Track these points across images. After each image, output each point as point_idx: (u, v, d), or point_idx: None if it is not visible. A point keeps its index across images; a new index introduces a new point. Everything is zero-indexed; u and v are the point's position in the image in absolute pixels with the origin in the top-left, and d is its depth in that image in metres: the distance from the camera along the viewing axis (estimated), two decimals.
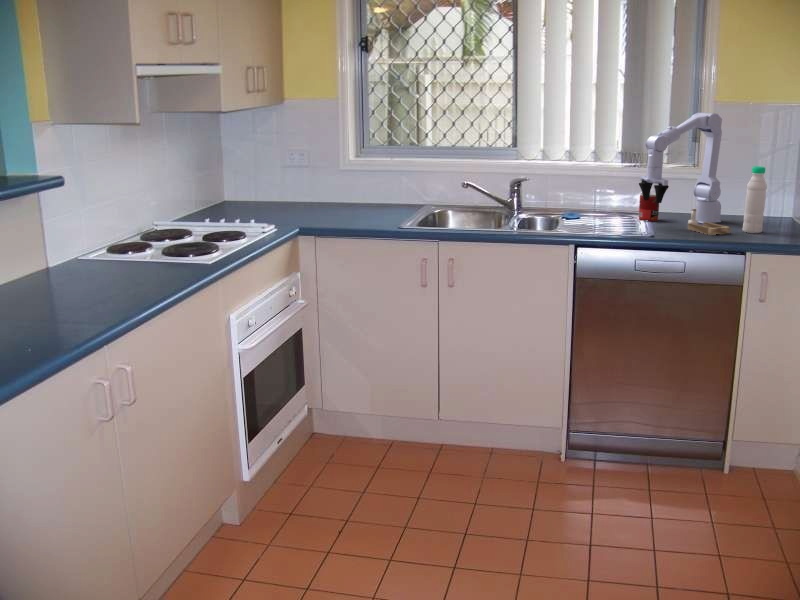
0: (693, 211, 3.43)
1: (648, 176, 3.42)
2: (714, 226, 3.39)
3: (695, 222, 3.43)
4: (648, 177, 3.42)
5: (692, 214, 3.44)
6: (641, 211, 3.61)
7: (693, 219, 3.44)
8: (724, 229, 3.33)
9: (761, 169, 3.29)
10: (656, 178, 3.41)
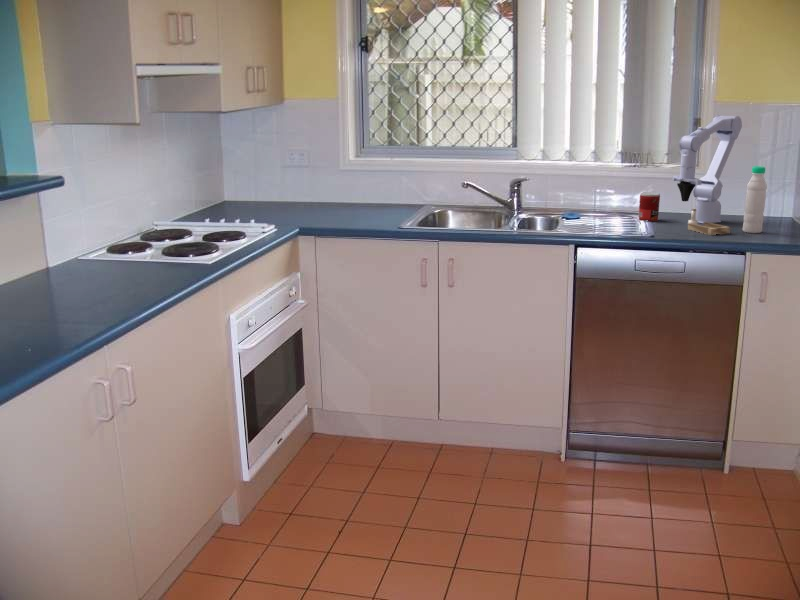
0: (693, 211, 3.43)
1: (681, 176, 3.44)
2: (714, 226, 3.39)
3: (695, 222, 3.43)
4: (681, 177, 3.44)
5: (692, 214, 3.44)
6: (641, 211, 3.61)
7: (693, 219, 3.44)
8: (724, 229, 3.33)
9: (761, 169, 3.29)
10: (689, 178, 3.43)
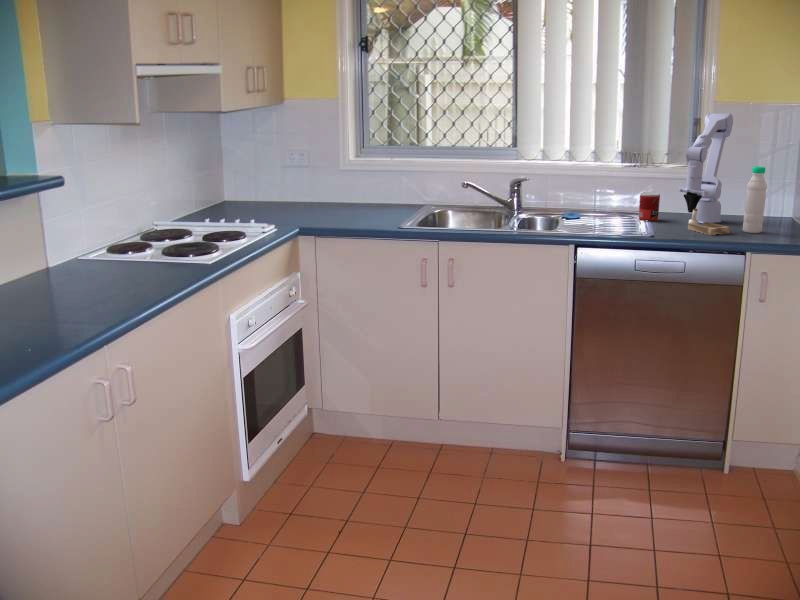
0: (694, 211, 3.43)
1: (688, 187, 3.42)
2: (714, 226, 3.39)
3: (695, 222, 3.43)
4: (687, 188, 3.42)
5: (693, 214, 3.43)
6: (641, 211, 3.61)
7: (694, 219, 3.44)
8: (724, 229, 3.33)
9: (761, 169, 3.29)
10: (696, 189, 3.40)
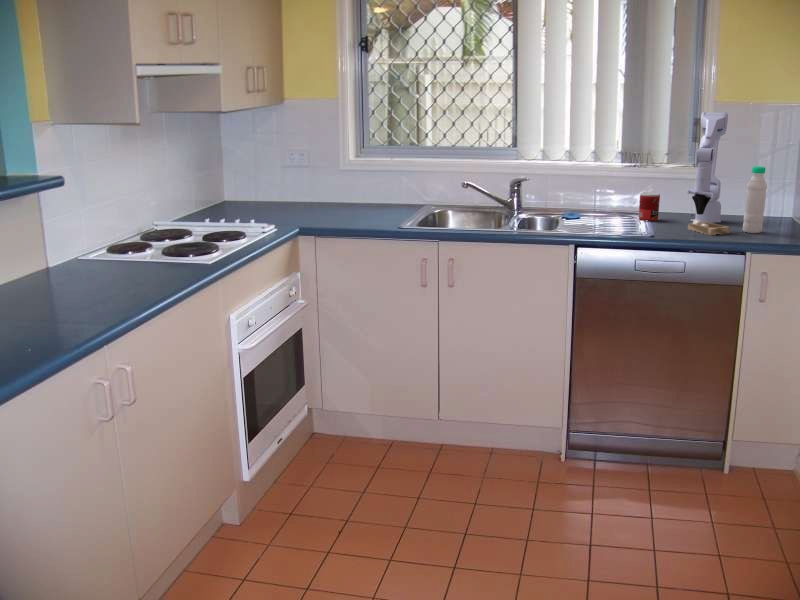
0: None
1: (696, 188, 3.37)
2: (714, 226, 3.39)
3: None
4: (696, 189, 3.37)
5: None
6: (641, 211, 3.61)
7: None
8: (724, 229, 3.33)
9: (761, 169, 3.29)
10: (705, 190, 3.36)
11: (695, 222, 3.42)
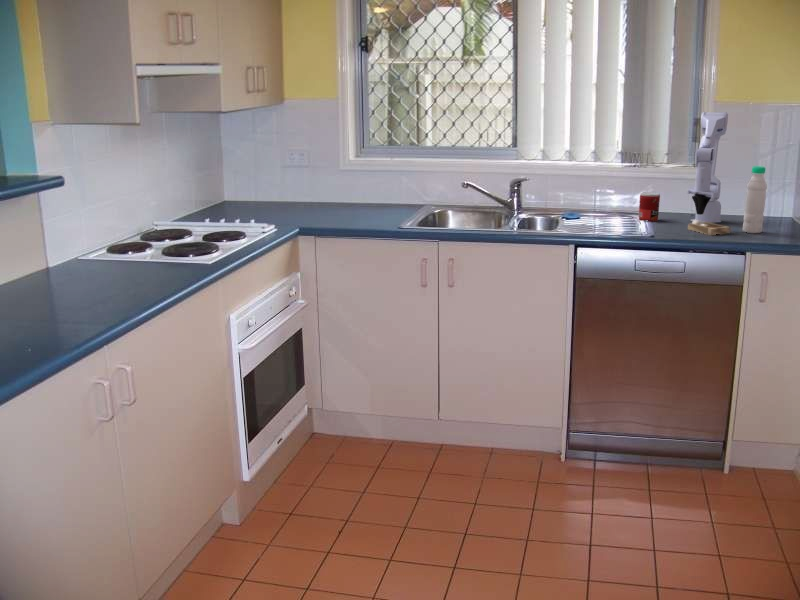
0: None
1: (696, 188, 3.37)
2: (714, 226, 3.39)
3: None
4: (696, 189, 3.37)
5: None
6: (641, 211, 3.61)
7: None
8: (724, 229, 3.33)
9: (761, 169, 3.29)
10: (705, 190, 3.36)
11: (694, 223, 3.41)
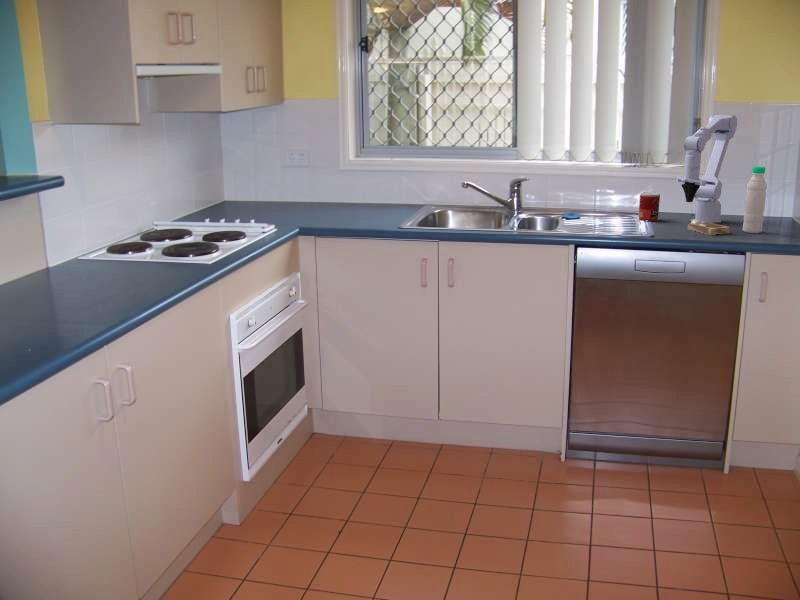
0: None
1: (686, 176, 3.42)
2: (714, 226, 3.39)
3: None
4: (686, 177, 3.42)
5: None
6: (641, 211, 3.61)
7: None
8: (724, 229, 3.33)
9: (761, 169, 3.29)
10: (694, 178, 3.41)
11: None
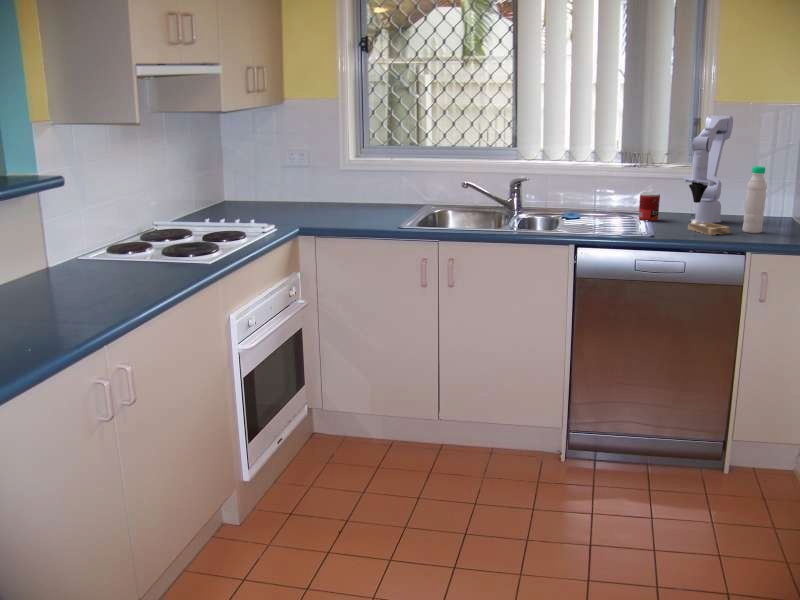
0: None
1: (693, 177, 3.41)
2: (714, 226, 3.39)
3: None
4: (693, 178, 3.41)
5: None
6: (641, 211, 3.61)
7: None
8: (724, 229, 3.33)
9: (761, 169, 3.29)
10: (701, 179, 3.40)
11: None
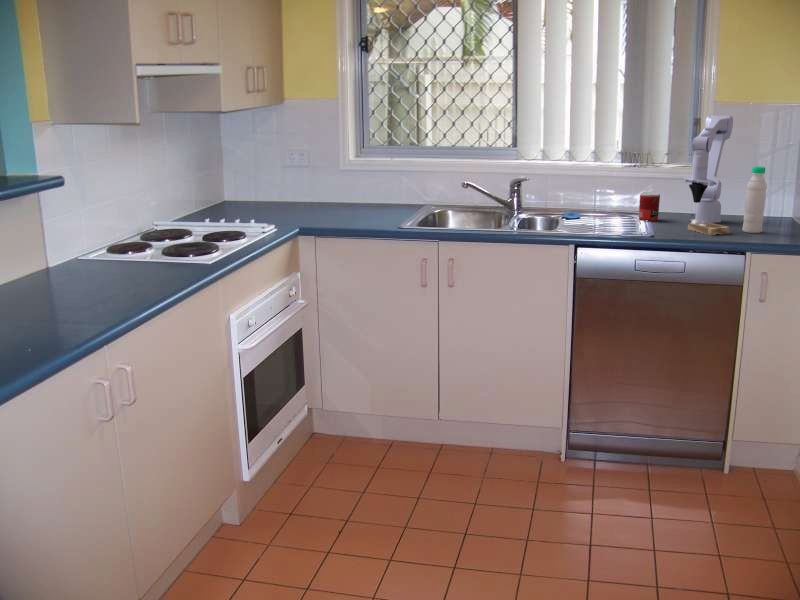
0: None
1: (693, 177, 3.41)
2: (714, 226, 3.39)
3: None
4: (693, 178, 3.41)
5: None
6: (641, 211, 3.61)
7: None
8: (724, 229, 3.33)
9: (761, 169, 3.29)
10: (701, 179, 3.40)
11: None
